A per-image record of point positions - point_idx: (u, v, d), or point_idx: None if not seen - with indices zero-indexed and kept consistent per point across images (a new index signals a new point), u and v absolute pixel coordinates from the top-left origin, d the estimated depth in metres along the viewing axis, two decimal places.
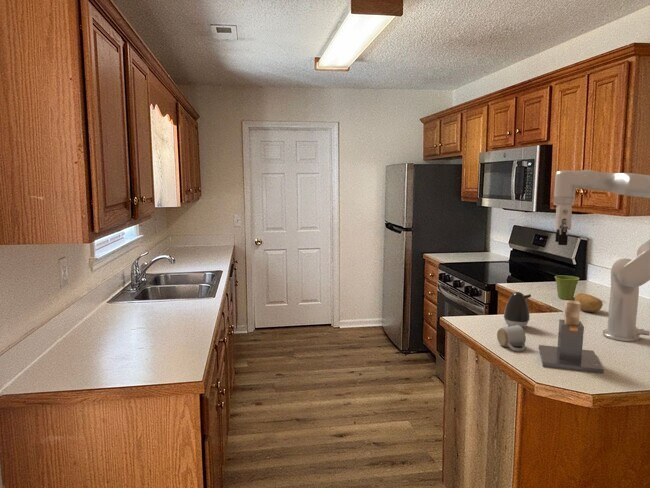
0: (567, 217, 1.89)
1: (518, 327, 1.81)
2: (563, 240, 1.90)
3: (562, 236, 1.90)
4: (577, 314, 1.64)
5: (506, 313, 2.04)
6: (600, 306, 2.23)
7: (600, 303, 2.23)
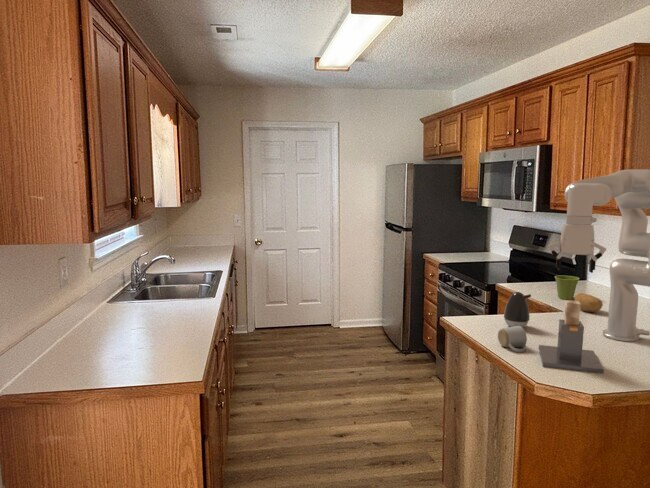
0: None
1: (519, 328, 1.81)
2: (594, 266, 1.62)
3: None
4: (577, 314, 1.64)
5: (506, 313, 2.04)
6: (600, 306, 2.23)
7: (600, 303, 2.23)
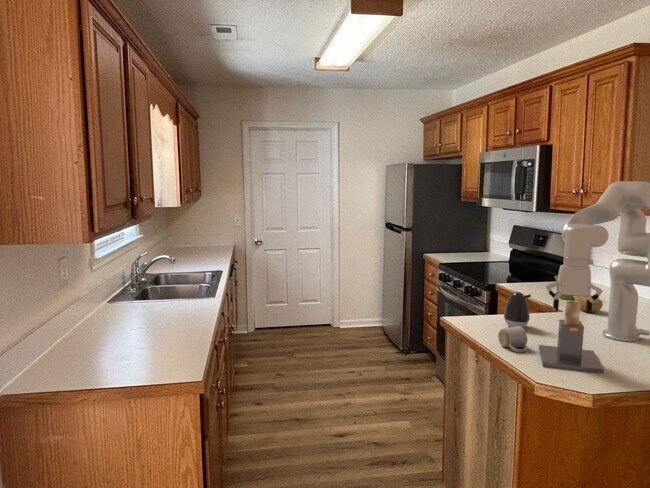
0: None
1: (519, 328, 1.80)
2: None
3: None
4: (577, 314, 1.64)
5: (506, 313, 2.04)
6: (600, 306, 2.23)
7: (600, 303, 2.23)
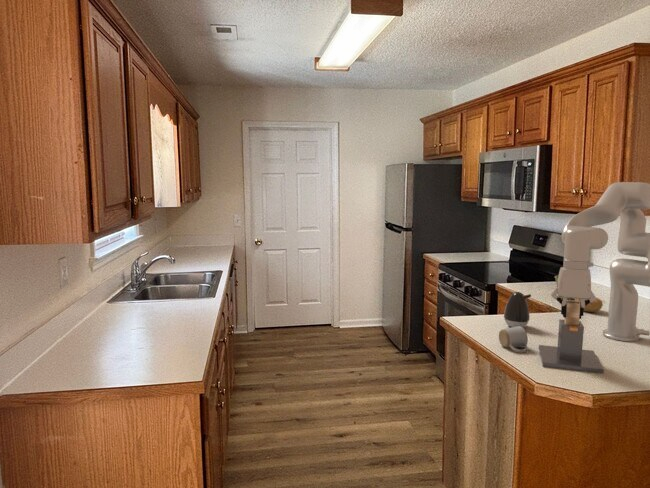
0: None
1: (520, 328, 1.80)
2: (583, 312, 1.65)
3: None
4: (577, 314, 1.64)
5: (506, 313, 2.04)
6: (600, 306, 2.23)
7: (600, 303, 2.23)
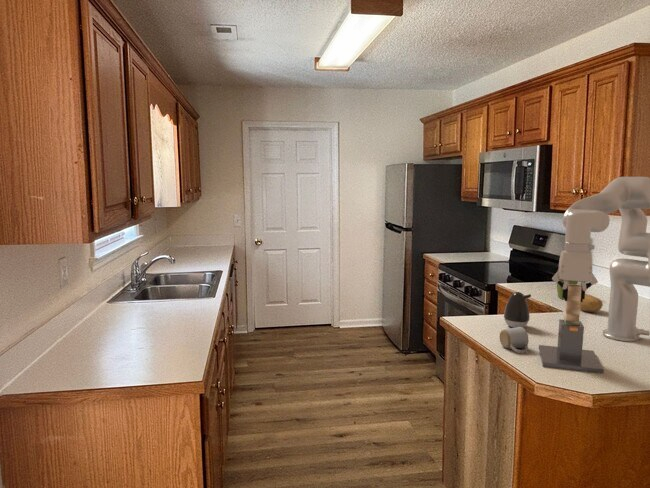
0: None
1: (521, 329, 1.79)
2: None
3: None
4: (578, 297, 1.63)
5: (506, 313, 2.04)
6: (600, 306, 2.23)
7: (600, 303, 2.23)
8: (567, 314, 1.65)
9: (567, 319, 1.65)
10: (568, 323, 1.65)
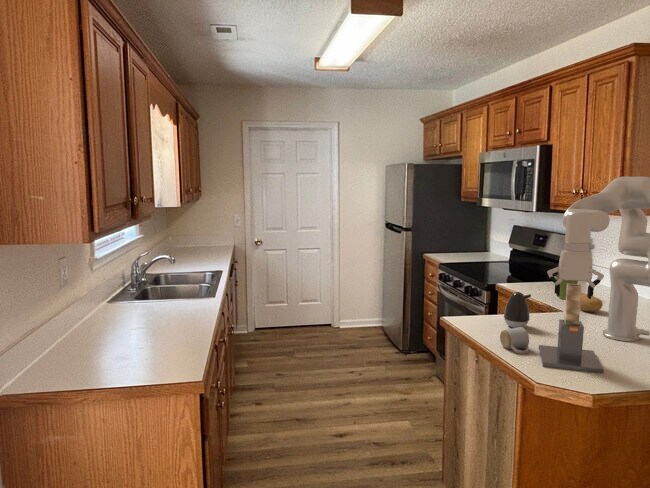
0: None
1: (521, 329, 1.79)
2: (592, 292, 1.63)
3: None
4: (578, 297, 1.63)
5: (506, 313, 2.04)
6: (600, 306, 2.23)
7: (600, 303, 2.23)
8: (567, 314, 1.65)
9: (567, 319, 1.65)
10: (568, 323, 1.65)
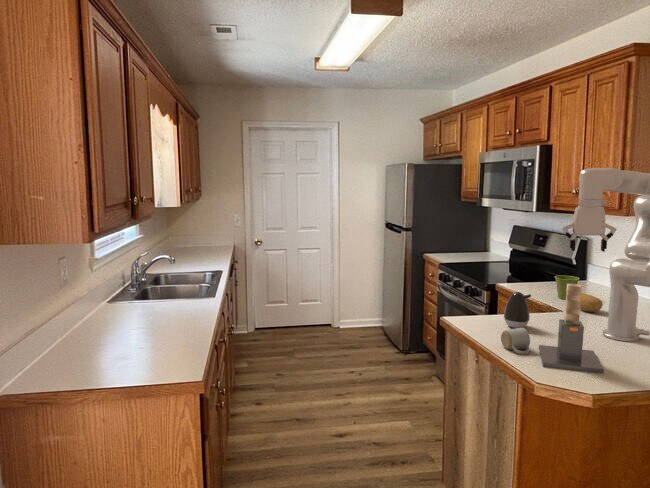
0: None
1: (522, 329, 1.79)
2: None
3: None
4: (578, 297, 1.63)
5: (506, 313, 2.04)
6: (600, 306, 2.23)
7: (600, 303, 2.23)
8: (567, 314, 1.65)
9: (567, 319, 1.65)
10: (568, 323, 1.65)
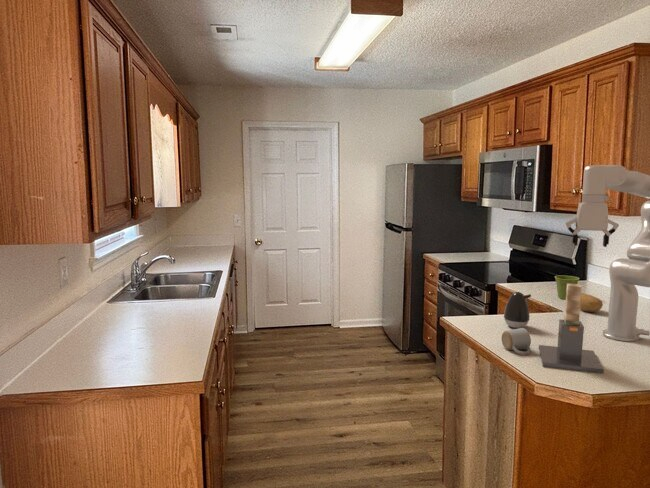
0: None
1: (523, 330, 1.78)
2: None
3: None
4: (578, 297, 1.63)
5: (506, 313, 2.04)
6: (600, 306, 2.23)
7: (600, 303, 2.23)
8: (567, 314, 1.65)
9: (567, 319, 1.65)
10: (568, 323, 1.65)
